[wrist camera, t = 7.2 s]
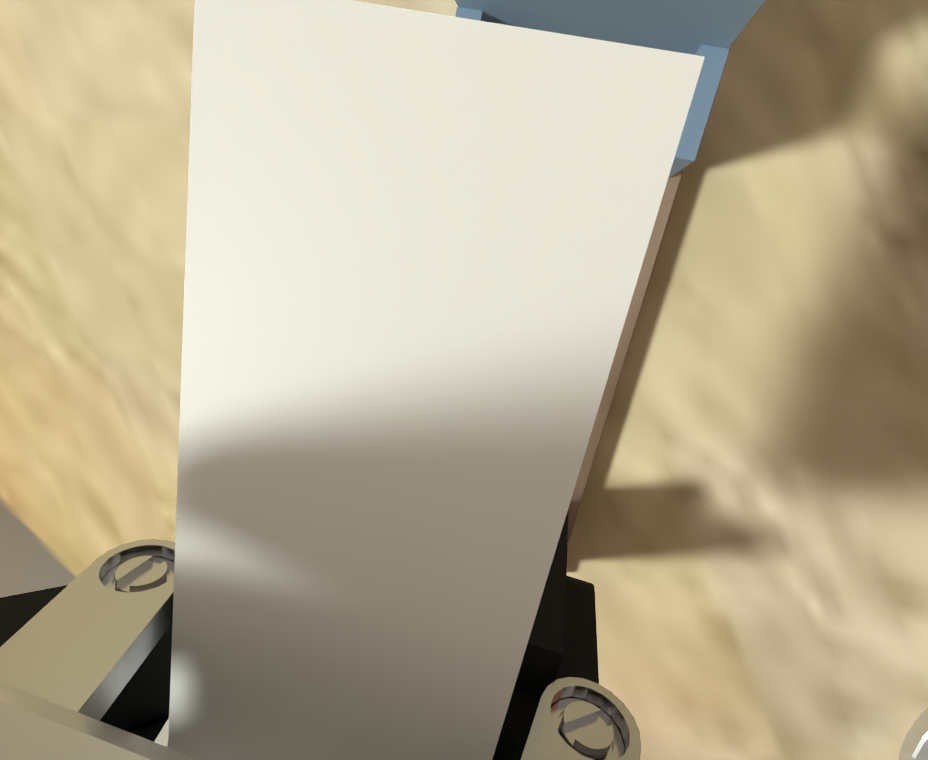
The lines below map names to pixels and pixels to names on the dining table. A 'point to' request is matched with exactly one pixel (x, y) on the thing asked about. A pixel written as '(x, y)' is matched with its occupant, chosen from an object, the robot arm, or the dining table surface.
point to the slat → (392, 360)
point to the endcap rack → (623, 344)
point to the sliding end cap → (639, 37)
